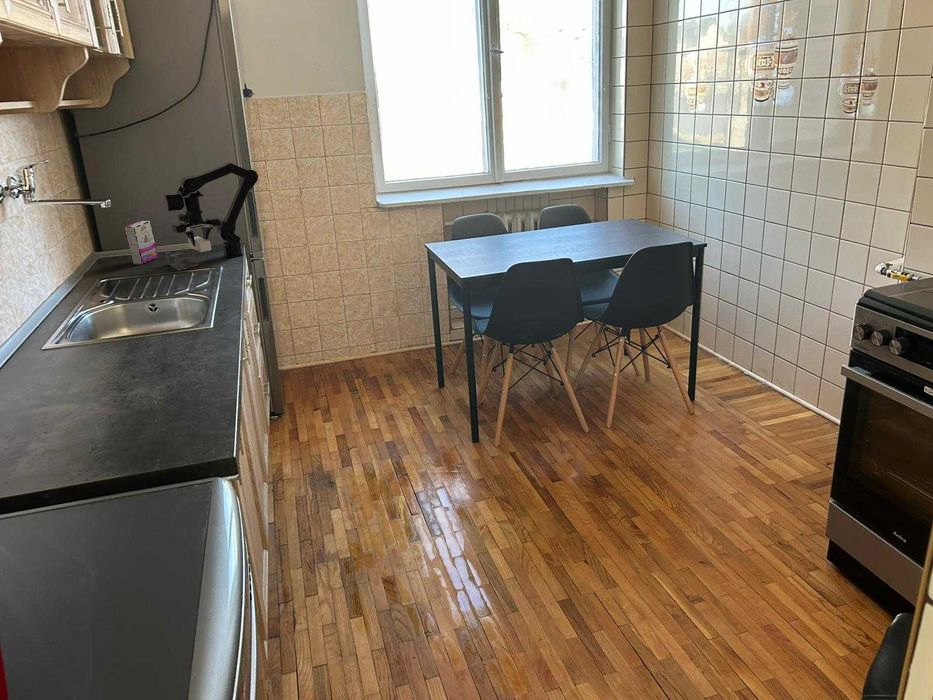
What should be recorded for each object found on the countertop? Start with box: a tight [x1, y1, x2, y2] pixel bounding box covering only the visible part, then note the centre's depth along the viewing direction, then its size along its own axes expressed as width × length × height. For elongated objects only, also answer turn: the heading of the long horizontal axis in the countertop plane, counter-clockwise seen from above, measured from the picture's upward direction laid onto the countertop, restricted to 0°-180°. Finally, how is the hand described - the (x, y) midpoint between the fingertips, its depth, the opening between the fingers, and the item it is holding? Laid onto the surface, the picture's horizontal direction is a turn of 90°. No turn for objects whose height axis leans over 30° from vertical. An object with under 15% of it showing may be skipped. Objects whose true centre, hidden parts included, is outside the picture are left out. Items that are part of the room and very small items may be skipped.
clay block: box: [187, 235, 213, 253], centre depth 300 cm, size 4×12×4 cm, turn 42°
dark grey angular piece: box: [164, 248, 199, 270], centre depth 296 cm, size 8×14×6 cm, turn 42°
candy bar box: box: [124, 220, 159, 265], centre depth 303 cm, size 11×5×16 cm, turn 167°
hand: (199, 245), depth 300 cm, fingers closed on clay block, 4 cm apart
